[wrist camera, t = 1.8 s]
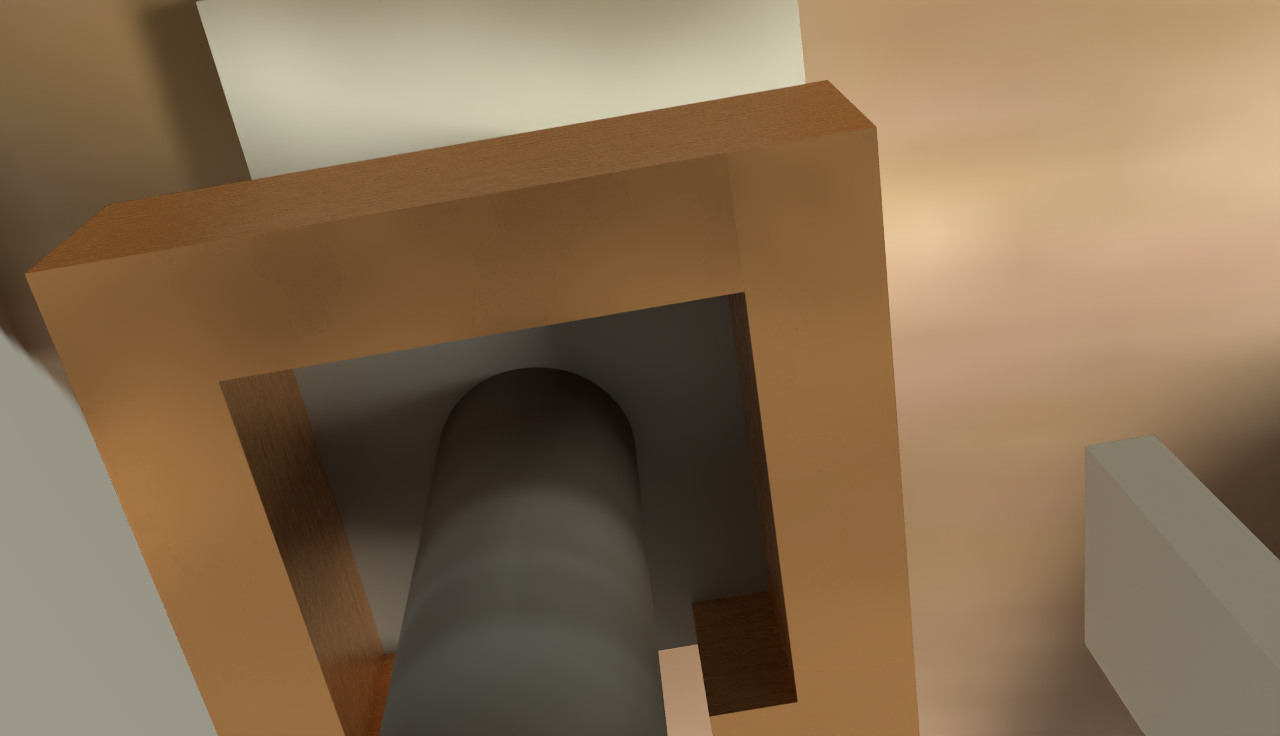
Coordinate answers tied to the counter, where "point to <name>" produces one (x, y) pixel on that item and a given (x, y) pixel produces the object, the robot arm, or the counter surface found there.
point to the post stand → (520, 364)
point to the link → (486, 305)
